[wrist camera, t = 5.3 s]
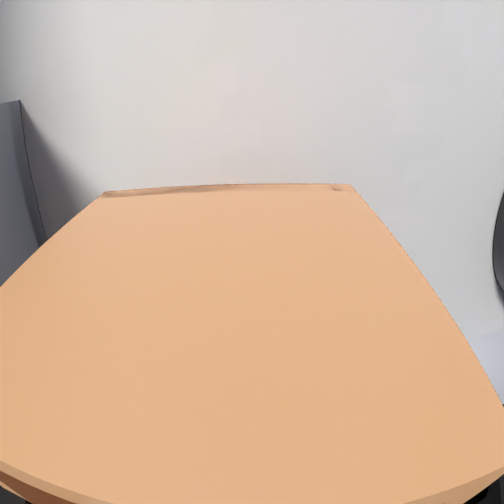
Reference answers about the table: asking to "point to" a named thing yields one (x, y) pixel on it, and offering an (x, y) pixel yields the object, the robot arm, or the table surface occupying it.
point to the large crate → (16, 196)
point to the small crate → (237, 358)
